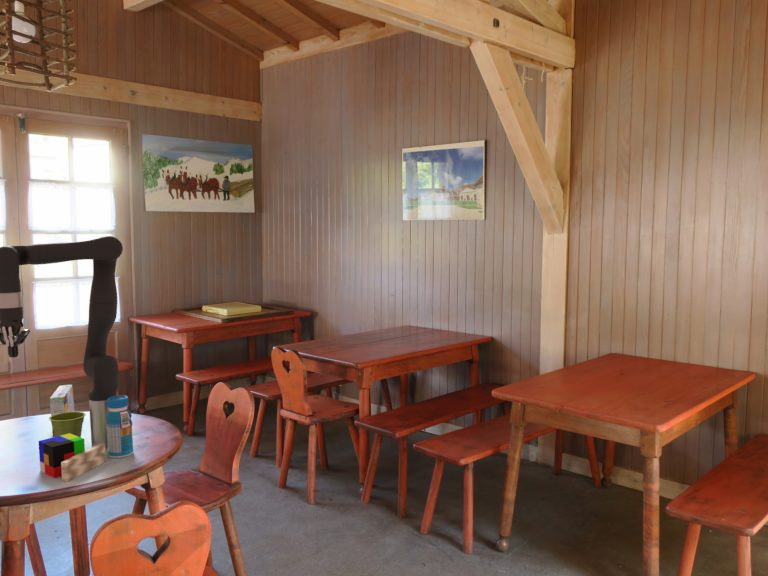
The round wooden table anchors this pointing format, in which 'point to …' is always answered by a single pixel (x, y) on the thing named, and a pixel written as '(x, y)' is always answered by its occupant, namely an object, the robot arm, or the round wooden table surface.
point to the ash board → (83, 462)
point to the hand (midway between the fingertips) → (13, 357)
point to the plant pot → (67, 423)
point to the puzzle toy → (58, 452)
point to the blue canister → (119, 427)
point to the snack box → (62, 401)
